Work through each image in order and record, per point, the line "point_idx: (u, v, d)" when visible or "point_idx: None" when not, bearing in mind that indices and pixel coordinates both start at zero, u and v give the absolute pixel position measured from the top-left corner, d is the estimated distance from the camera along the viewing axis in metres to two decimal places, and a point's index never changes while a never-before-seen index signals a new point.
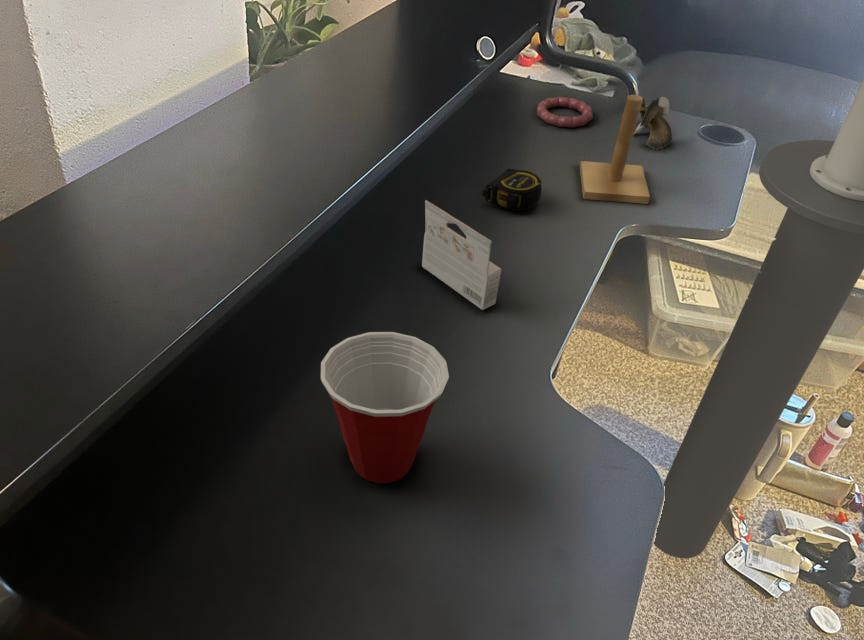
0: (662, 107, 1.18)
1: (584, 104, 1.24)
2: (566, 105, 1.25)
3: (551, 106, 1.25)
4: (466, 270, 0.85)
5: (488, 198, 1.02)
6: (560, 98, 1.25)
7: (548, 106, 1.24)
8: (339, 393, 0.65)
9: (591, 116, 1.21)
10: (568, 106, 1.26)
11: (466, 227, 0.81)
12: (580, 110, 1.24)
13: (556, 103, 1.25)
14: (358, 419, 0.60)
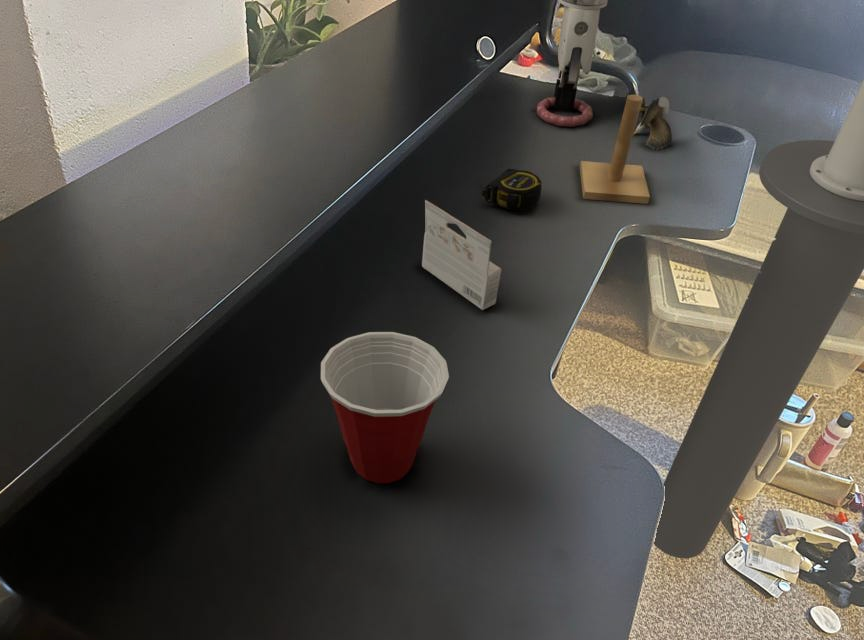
0: (662, 107, 1.18)
1: (584, 103, 1.24)
2: None
3: (551, 105, 1.25)
4: (466, 270, 0.85)
5: (488, 198, 1.02)
6: None
7: (548, 105, 1.25)
8: (339, 393, 0.65)
9: (591, 115, 1.22)
10: None
11: (466, 227, 0.81)
12: (580, 109, 1.24)
13: None
14: (358, 419, 0.60)
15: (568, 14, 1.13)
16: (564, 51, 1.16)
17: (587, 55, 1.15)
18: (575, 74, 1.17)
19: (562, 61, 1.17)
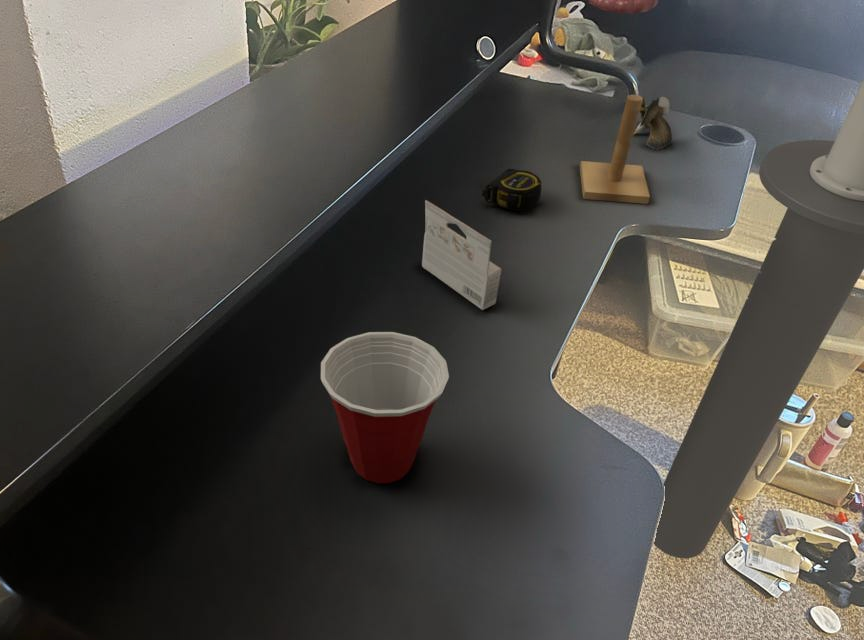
0: (662, 107, 1.18)
1: None
2: None
3: None
4: (466, 270, 0.85)
5: (488, 198, 1.02)
6: None
7: None
8: (339, 393, 0.65)
9: (656, 0, 0.98)
10: None
11: (466, 227, 0.81)
12: None
13: None
14: (358, 419, 0.60)
15: None
16: None
17: None
18: None
19: None
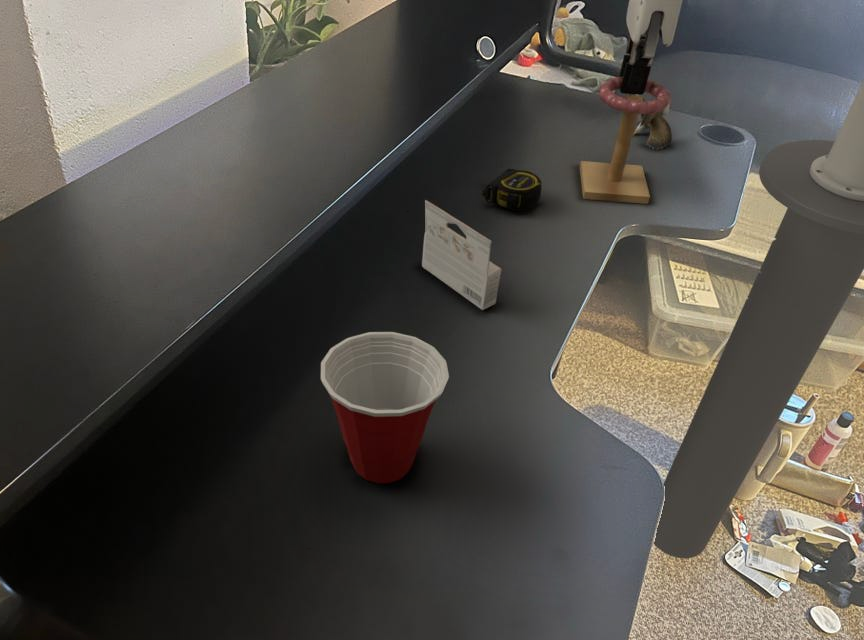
0: None
1: (659, 85, 0.99)
2: None
3: (616, 88, 1.00)
4: (466, 270, 0.85)
5: (488, 198, 1.02)
6: None
7: (613, 88, 0.99)
8: (339, 393, 0.65)
9: (669, 100, 0.96)
10: None
11: (466, 227, 0.81)
12: (653, 93, 0.99)
13: None
14: (358, 419, 0.60)
15: None
16: (641, 16, 0.91)
17: (670, 21, 0.90)
18: (654, 46, 0.92)
19: (637, 29, 0.92)
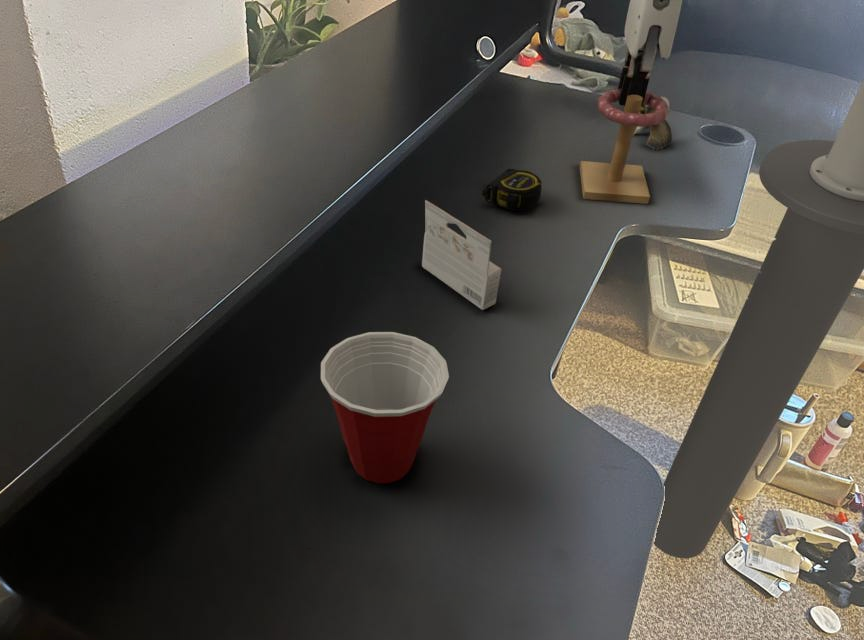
0: None
1: (657, 97, 1.00)
2: None
3: (615, 100, 1.01)
4: (466, 270, 0.85)
5: (488, 198, 1.02)
6: None
7: (612, 100, 1.01)
8: (339, 393, 0.65)
9: (667, 113, 0.98)
10: None
11: (466, 227, 0.81)
12: (652, 105, 1.00)
13: None
14: (358, 419, 0.60)
15: None
16: (638, 30, 0.92)
17: (668, 35, 0.91)
18: (651, 60, 0.93)
19: (635, 43, 0.93)
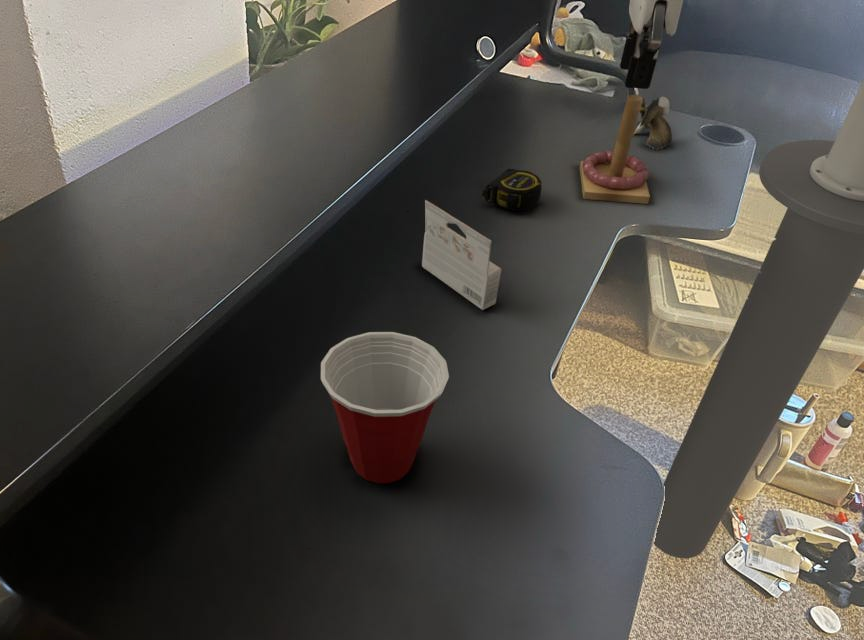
0: (662, 107, 1.18)
1: (637, 160, 1.07)
2: None
3: (598, 162, 1.09)
4: (466, 270, 0.85)
5: (488, 198, 1.02)
6: (609, 153, 1.09)
7: (595, 162, 1.08)
8: (339, 393, 0.65)
9: (647, 175, 1.05)
10: None
11: (466, 227, 0.81)
12: (632, 167, 1.08)
13: (604, 159, 1.09)
14: (358, 419, 0.60)
15: None
16: (644, 6, 0.90)
17: (674, 10, 0.89)
18: None
19: (640, 19, 0.91)
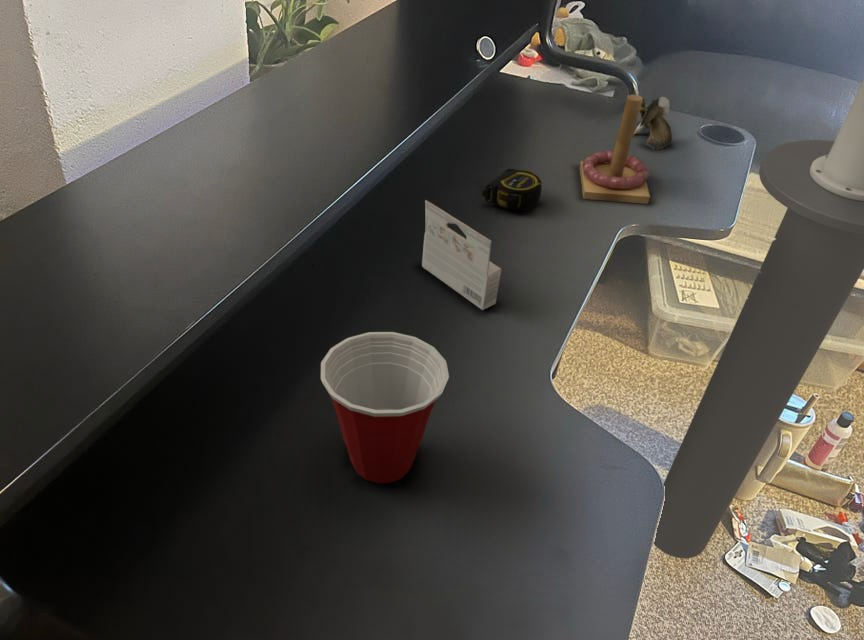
0: (662, 107, 1.18)
1: (637, 160, 1.07)
2: None
3: (598, 162, 1.09)
4: (466, 270, 0.85)
5: (488, 198, 1.02)
6: (609, 153, 1.09)
7: (595, 162, 1.08)
8: (339, 393, 0.65)
9: (647, 175, 1.05)
10: None
11: (466, 227, 0.81)
12: (632, 167, 1.08)
13: (604, 159, 1.09)
14: (358, 419, 0.60)
15: None
16: None
17: None
18: None
19: None
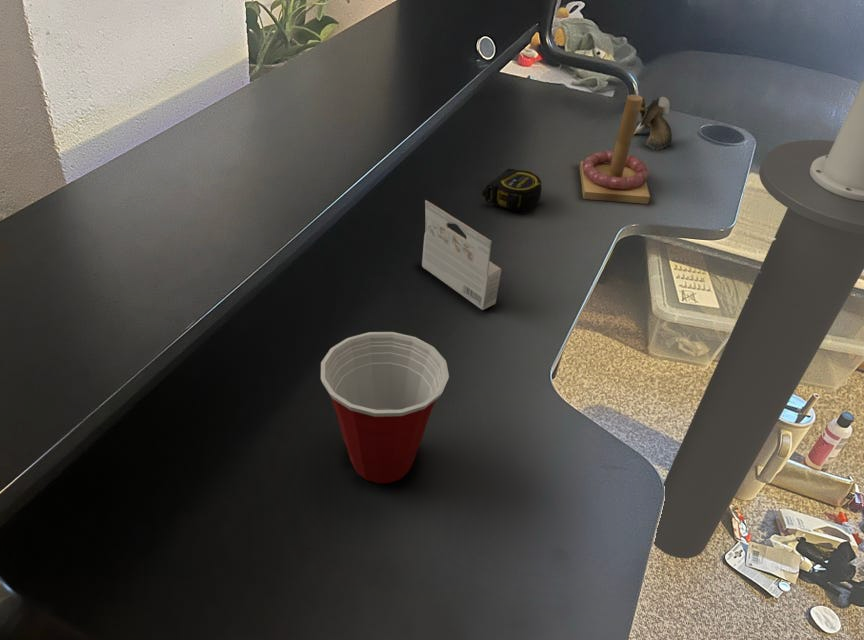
0: (662, 107, 1.18)
1: (637, 160, 1.07)
2: None
3: (598, 162, 1.09)
4: (466, 270, 0.85)
5: (488, 198, 1.02)
6: (609, 153, 1.09)
7: (595, 162, 1.08)
8: (339, 393, 0.65)
9: (647, 175, 1.05)
10: None
11: (466, 227, 0.81)
12: (632, 167, 1.08)
13: (604, 159, 1.09)
14: (358, 419, 0.60)
15: None
16: None
17: None
18: None
19: None
